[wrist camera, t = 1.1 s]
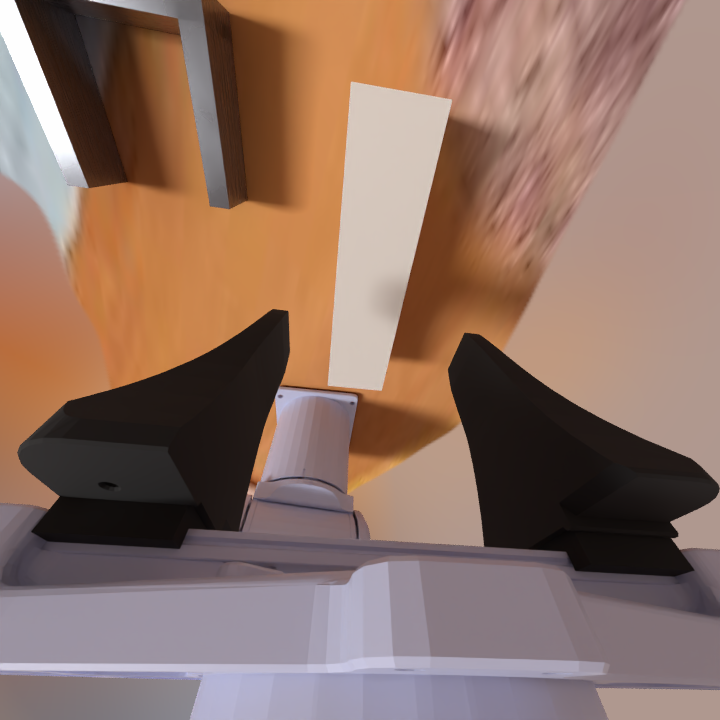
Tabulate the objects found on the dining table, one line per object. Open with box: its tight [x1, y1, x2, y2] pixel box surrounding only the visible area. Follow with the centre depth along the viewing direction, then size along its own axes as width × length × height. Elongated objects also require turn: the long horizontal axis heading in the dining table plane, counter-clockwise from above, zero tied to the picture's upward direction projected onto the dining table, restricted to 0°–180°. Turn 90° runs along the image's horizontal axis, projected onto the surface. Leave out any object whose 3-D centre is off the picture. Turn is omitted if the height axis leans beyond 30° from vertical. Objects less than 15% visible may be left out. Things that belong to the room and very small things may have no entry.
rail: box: [328, 82, 452, 391], centre depth 18 cm, size 16×4×5 cm, turn 173°
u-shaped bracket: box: [0, 0, 248, 209], centre depth 13 cm, size 8×8×3 cm
